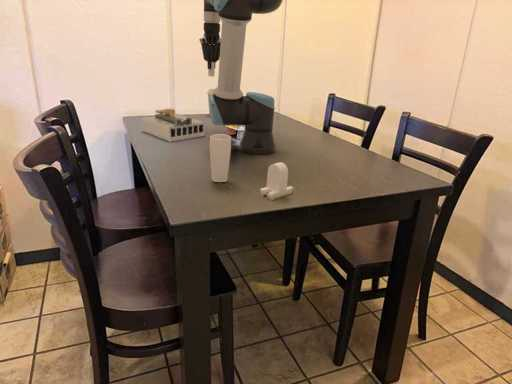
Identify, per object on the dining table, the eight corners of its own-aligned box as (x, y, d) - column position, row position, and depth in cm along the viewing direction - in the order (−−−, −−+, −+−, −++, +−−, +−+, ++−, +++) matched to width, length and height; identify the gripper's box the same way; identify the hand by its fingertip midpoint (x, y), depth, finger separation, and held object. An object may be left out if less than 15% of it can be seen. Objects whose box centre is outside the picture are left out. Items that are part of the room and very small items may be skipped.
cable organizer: (259, 194, 118) (261, 163, 114) (281, 188, 124) (283, 158, 120) (271, 200, 114) (273, 168, 110) (293, 193, 121) (296, 162, 117)
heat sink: (204, 136, 179) (204, 116, 176) (169, 141, 167) (168, 121, 163) (177, 126, 193) (176, 108, 190) (143, 131, 181) (142, 112, 177)
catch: (174, 116, 183) (174, 109, 182) (160, 118, 178) (160, 111, 177) (170, 115, 186) (170, 108, 185) (155, 116, 181) (155, 109, 179)
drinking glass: (231, 184, 125) (233, 139, 119) (211, 185, 123) (211, 139, 117) (227, 176, 131) (228, 133, 125) (207, 177, 129) (208, 133, 123)
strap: (188, 124, 171) (188, 120, 170) (180, 125, 168) (180, 121, 167) (162, 116, 184) (162, 112, 184) (154, 117, 182) (154, 113, 181)
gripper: (217, 23, 182) (216, 75, 191) (195, 21, 173) (195, 75, 182) (228, 23, 178) (226, 76, 186) (206, 21, 169) (205, 77, 177)
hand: (211, 76), depth 184 cm, fingers closed
